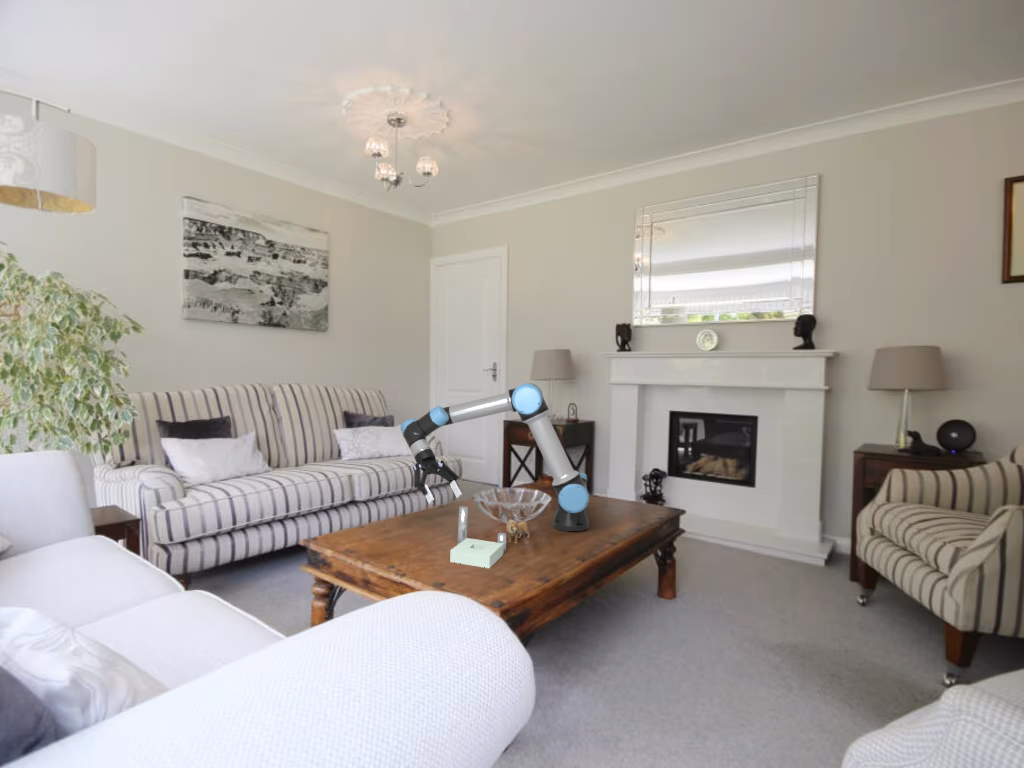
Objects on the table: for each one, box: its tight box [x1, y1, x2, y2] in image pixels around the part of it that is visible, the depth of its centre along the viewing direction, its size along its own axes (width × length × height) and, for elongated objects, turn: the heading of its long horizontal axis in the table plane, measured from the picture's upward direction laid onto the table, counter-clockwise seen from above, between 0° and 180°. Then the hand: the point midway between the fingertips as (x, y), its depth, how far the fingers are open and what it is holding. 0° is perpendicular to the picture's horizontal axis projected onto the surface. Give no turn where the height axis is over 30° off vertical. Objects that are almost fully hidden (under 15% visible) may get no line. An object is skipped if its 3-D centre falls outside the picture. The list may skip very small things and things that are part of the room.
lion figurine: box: [505, 519, 531, 544], centre depth 203 cm, size 15×5×9 cm, turn 151°
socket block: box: [449, 537, 504, 569], centre depth 182 cm, size 14×14×4 cm
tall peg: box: [457, 505, 469, 545], centre depth 194 cm, size 3×3×14 cm
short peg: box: [497, 532, 508, 553], centre depth 191 cm, size 3×3×6 cm
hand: (445, 498), depth 201 cm, fingers open, 13 cm apart
